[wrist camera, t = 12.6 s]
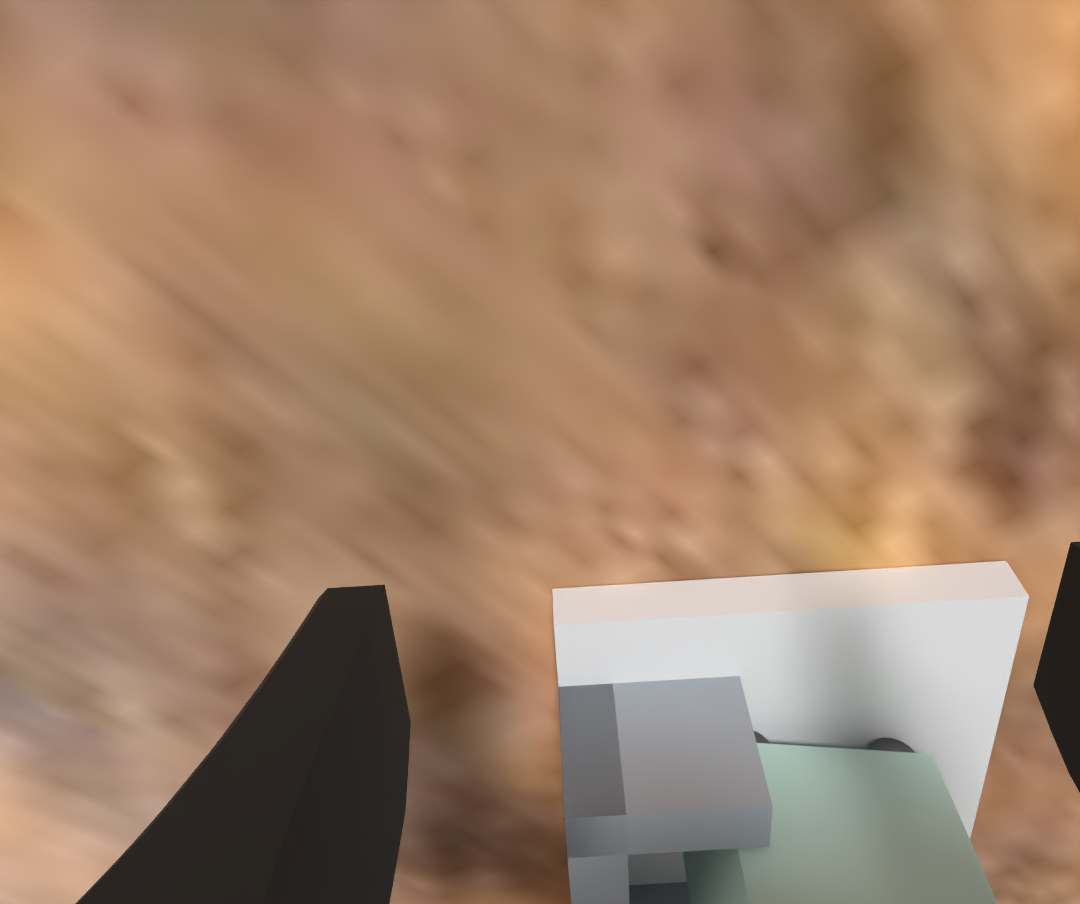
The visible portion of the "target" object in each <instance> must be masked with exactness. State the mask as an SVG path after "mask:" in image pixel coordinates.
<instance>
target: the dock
mask: <svg viewBox="0 0 1080 904" xmlns="http://www.w3.org/2000/svg"><path fill="white" fill-rule="evenodd" d="M552 593H553V618H554V634H555V647H556V660H557V673H558V686H559V708H560V731H561V754H562V777H563V801H564V821H565V834H566V846H567V858H568V870H569V883H570V895H571V904H690V898H689V892H688V885H687V879H686V872H685V866H684V859H683V852H686V851H703V850H721V849H739V848H757V847H769V845H770V833H771V821H772V809H773V806H772V802H771V798H770V794H769V790H768V786H767V782H766V778H765V774H764V770H763V766H762V762H761V759H760V755H759V751H758V747H757V743H756V739H755V735H754V731H756V732H758V733H760V734H761V735H762V736H764V737H765V738H766V739H767V740H768V741H769V743H770V744H783V745H798V746H814V747H830V748H846V749H861V750H869V749H870V747H871V744H872V743H873V742H874V741H875V740H877V739H879V738H893V739H897V740H899V741H901V742H903V743H905V744H907V745H908V746H909V747H911V748H912V749H913V750H914V752H915V753H924V754H933V756H934V759H935V761H936V763H937V766H938V768H939V770H940V772H941V775H942V777H943V779H944V782H945V784H946V786H947V788H948V791H949V793H950V795H951V798H952V800H953V802H954V805H955V807H956V809H957V811H958V814H959V816H960V818H961V821H962V823H963V825H964V827H965V830H966V832H967V834H968V837H969V839H970V837H971V833H972V829H973V825H974V821H975V817H976V813H977V809H978V804H979V800H980V796H981V792H982V788H983V784H984V780H985V776H986V772H987V767H988V763H989V759H990V755H991V751H992V747H993V743H994V739H995V734H996V730H997V726H998V722H999V718H1000V714H1001V710H1002V706H1003V702H1004V697H1005V693H1006V689H1007V685H1008V681H1009V677H1010V673H1011V669H1012V664H1013V660H1014V656H1015V652H1016V648H1017V644H1018V640H1019V636H1020V632H1021V627H1022V623H1023V619H1024V615H1025V611H1026V607H1027V603H1028V599H1029V596H1028V594H1027V592H1026V591H1025V589H1024V588H1023V586H1022V585H1021V583H1020V582H1019V580H1018V579H1017V577H1016V575H1015V574H1014V572H1013V571H1012V569H1011V568H1010V566H1009V565H1008V563H1007V562H1006V561H997V562H980V563H964V564H948V565H932V566H915V567H899V568H883V569H867V570H850V571H834V572H818V573H802V574H785V575H769V576H753V577H737V578H720V579H704V580H688V581H672V582H656V583H639V584H623V585H607V586H591V587H574V588H558V589H552Z"/></svg>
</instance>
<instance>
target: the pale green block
mask: <svg viewBox="0 0 1080 904" xmlns="http://www.w3.org/2000/svg"><path fill="white" fill-rule="evenodd" d="M754 735H755V739H756V743H757V747H758V751H759V755H760V759H761V762H762V766H763V770H764V774H765V778H766V782H767V786H768V790H769V794H770V798H771V802H772V806H773V809H772V821H771V833H770V845H769V847H757V848H739V849H721V850H703V851H686V852H683V859H684V866H685V872H686V879H687V885H688V892H689V898H690V904H998V903H997V901H996V898H995V896H994V894H993V891H992V889H991V887H990V885H989V882H988V880H987V878H986V875H985V873H984V871H983V869H982V866H981V864H980V862H979V859H978V857H977V855H976V853H975V850H974V848H973V846H972V843H971V841H970V839H969V837H968V834H967V832H966V830H965V827H964V825H963V823H962V821H961V818H960V816H959V814H958V811H957V809H956V807H955V805H954V802H953V800H952V798H951V795H950V793H949V791H948V788H947V786H946V784H945V782H944V779H943V777H942V775H941V772H940V770H939V768H938V766H937V763H936V761H935V759H934V756H933V754H924V753H915V752H914V750H913V749H912V748H911V747H909V746H908V745H907V744H905V743H903V742H901V741H899V740H897V739H893V738H879V739H877V740H875V741H874V742H873V743H872V744H871V747H870V749H869V750H861V749H846V748H830V747H814V746H798V745H783V744H770V743H769V741H768V740H767V739H766V738H765V737H764V736H762V735H761V734H760V733H758V732H756V731H754Z"/></svg>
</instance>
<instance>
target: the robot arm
mask: <svg viewBox="0 0 1080 904" xmlns="http://www.w3.org/2000/svg"><path fill="white" fill-rule="evenodd" d="M1034 688H1035V690H1036V693H1037V696H1038V698H1039V701H1040V703H1041V706H1042V709H1043V711H1044V714H1045V716H1046V719H1047V721H1048V724H1049V727H1050V729H1051V732H1052V734H1053V737H1054V739H1055V741H1056V744H1057V746H1058V748H1059V751H1060V753H1061V755H1062V758H1063V760H1064V762H1065V765H1066V767H1067V769H1068V772H1069V774H1070V776H1071V777H1072V779H1073V781H1074V783H1075V785H1076V787H1077V788H1078V790H1079V792H1080V542H1071V544H1070V547H1069V551H1068V555H1067V559H1066V563H1065V567H1064V570H1063V574H1062V578H1061V582H1060V586H1059V590H1058V593H1057V597H1056V601H1055V605H1054V609H1053V612H1052V616H1051V620H1050V624H1049V628H1048V632H1047V635H1046V639H1045V643H1044V647H1043V651H1042V655H1041V658H1040V662H1039V666H1038V670H1037V674H1036V677H1035V681H1034ZM409 741H410V717H409V712H408V706H407V701H406V696H405V690H404V685H403V680H402V674H401V669H400V664H399V658H398V653H397V648H396V643H395V637H394V632H393V627H392V621H391V616H390V611H389V605H388V600H387V595H386V589H385V585H374V586H357V587H341V588H328V589H327V590H326V591H325V592H324V593H323V594H322V595H321V596H320V597H319V598H318V600H317V601H316V603H315V604H314V606H313V607H312V609H311V611H310V612H309V614H308V615H307V617H306V618H305V620H304V621H303V623H302V624H301V626H300V627H299V629H298V630H297V632H296V633H295V635H294V636H293V638H292V639H291V641H290V642H289V644H288V645H287V647H286V648H285V650H284V651H283V653H282V654H281V656H280V657H279V658H278V660H277V661H276V663H275V664H274V666H273V667H272V668H271V670H270V671H269V673H268V674H267V676H266V677H265V679H264V680H263V681H262V683H261V684H260V686H259V687H258V688H257V690H256V691H255V692H254V694H253V695H252V696H251V698H250V699H249V700H248V702H247V703H246V705H245V706H244V707H243V709H242V710H241V711H240V713H239V714H238V715H237V717H236V718H235V719H234V721H233V722H232V723H231V725H230V726H229V728H228V729H227V730H226V732H225V733H224V734H223V736H222V737H221V738H220V740H219V741H218V742H217V743H216V745H215V746H214V747H213V749H212V750H211V751H210V752H209V754H208V755H207V756H206V757H205V759H204V760H203V761H202V762H201V763H200V765H199V766H198V767H197V768H196V769H195V771H194V772H193V773H192V774H191V776H190V777H189V778H188V779H187V780H186V782H185V783H184V784H183V785H182V787H181V788H180V789H179V790H178V791H177V793H176V794H175V795H174V796H173V797H172V799H171V800H170V801H169V802H168V804H167V805H166V806H165V807H164V808H163V810H162V811H161V812H160V813H159V814H158V815H157V817H156V818H155V819H154V820H153V821H152V822H151V823H150V825H149V826H148V827H147V828H146V829H145V830H144V831H143V832H142V834H141V835H140V836H139V837H138V838H137V839H136V840H135V841H134V843H133V844H132V845H131V846H130V847H129V848H128V849H127V850H126V851H125V852H124V854H123V855H122V856H121V857H120V858H119V859H118V860H117V861H116V862H115V863H114V864H113V865H112V866H111V867H110V868H109V870H108V871H107V872H106V873H105V874H104V875H103V876H102V877H101V878H100V879H99V880H98V881H97V882H96V883H95V884H94V885H93V886H92V887H91V888H90V889H89V890H88V891H87V892H86V894H85V895H84V896H83V897H82V898H81V899H80V900H79V901H78V902H77V903H76V904H389V903H390V897H391V891H392V886H393V880H394V874H395V868H396V863H397V857H398V851H399V845H400V839H401V834H402V828H403V822H404V816H405V807H406V792H407V777H408V760H409Z"/></svg>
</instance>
